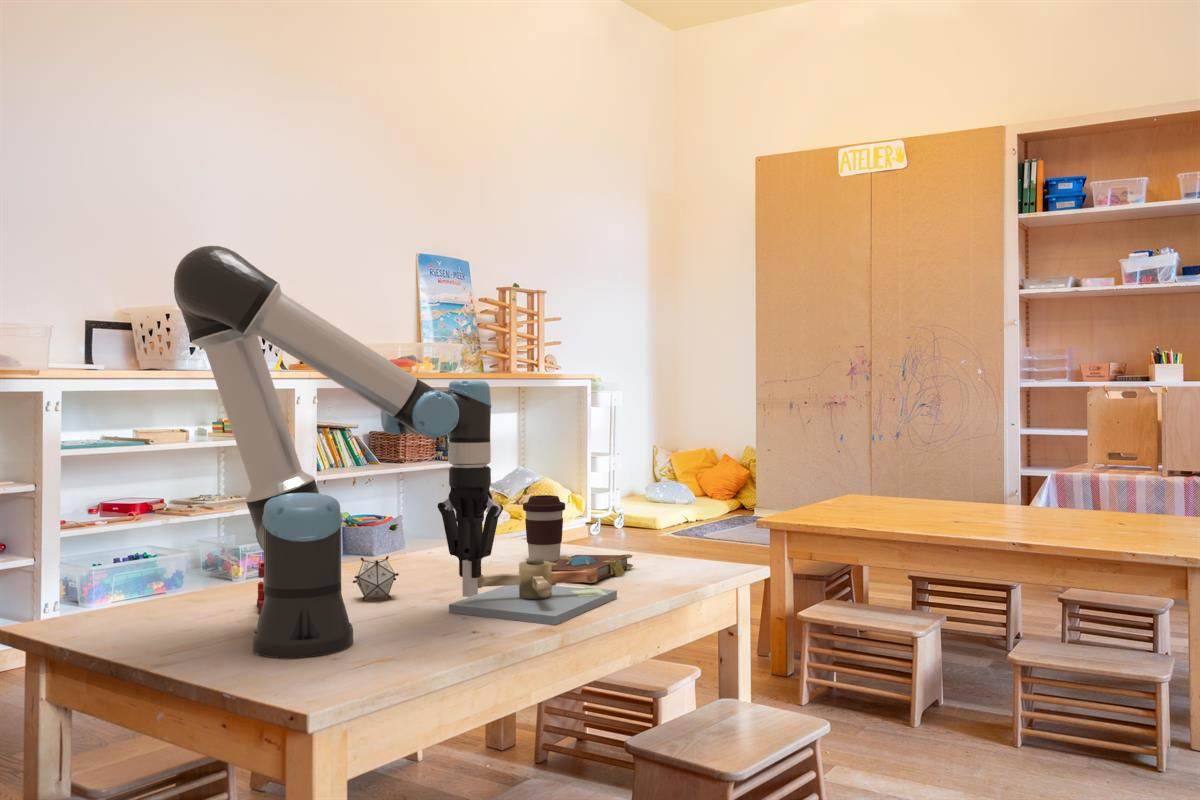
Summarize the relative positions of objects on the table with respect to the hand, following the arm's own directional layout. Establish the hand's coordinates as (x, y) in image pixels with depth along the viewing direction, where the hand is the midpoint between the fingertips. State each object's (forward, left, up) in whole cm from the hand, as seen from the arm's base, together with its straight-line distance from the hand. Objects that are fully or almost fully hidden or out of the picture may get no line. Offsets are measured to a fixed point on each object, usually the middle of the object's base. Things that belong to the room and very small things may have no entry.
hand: (470, 595), depth 180 cm
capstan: (+9, -8, -1) cm, 12 cm away
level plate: (+9, -8, -3) cm, 13 cm away
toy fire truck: (-16, +34, -3) cm, 37 cm away
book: (+38, -3, -4) cm, 38 cm away
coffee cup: (+52, +15, -3) cm, 54 cm away
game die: (+1, +23, -3) cm, 23 cm away
